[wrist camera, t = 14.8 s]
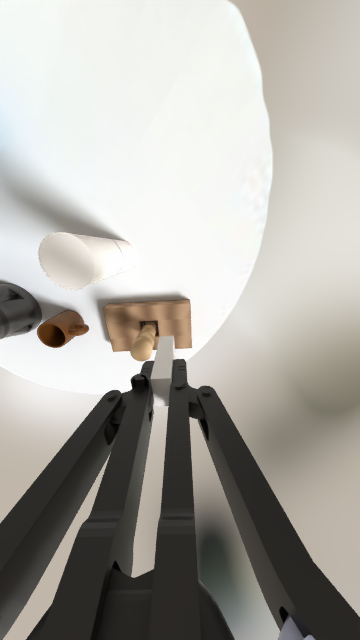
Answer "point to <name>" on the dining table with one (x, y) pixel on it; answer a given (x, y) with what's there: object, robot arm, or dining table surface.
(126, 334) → the seat board
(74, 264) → the cylindrical container
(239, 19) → the dining table surface
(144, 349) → the oak peg
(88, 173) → the dining table surface
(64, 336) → the mug
